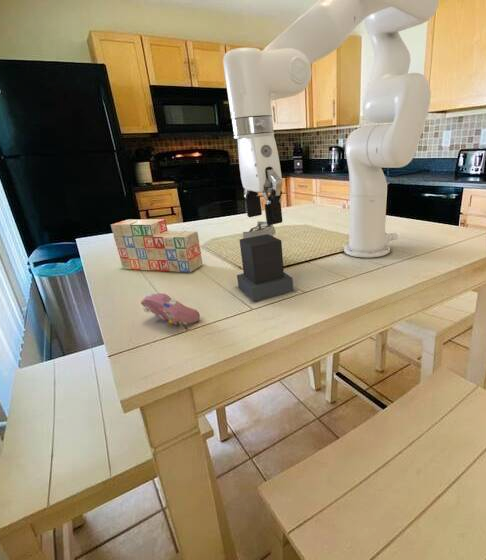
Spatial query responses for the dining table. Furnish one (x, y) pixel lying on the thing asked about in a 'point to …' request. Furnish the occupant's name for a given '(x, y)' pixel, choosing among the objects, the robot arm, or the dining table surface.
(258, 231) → the food container
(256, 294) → the base pad
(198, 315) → the pink toy car
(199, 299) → the dining table surface
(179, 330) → the dining table surface
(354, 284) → the dining table surface
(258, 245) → the black pad
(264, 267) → the charcoal pad
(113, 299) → the dining table surface
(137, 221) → the stack of blocks
